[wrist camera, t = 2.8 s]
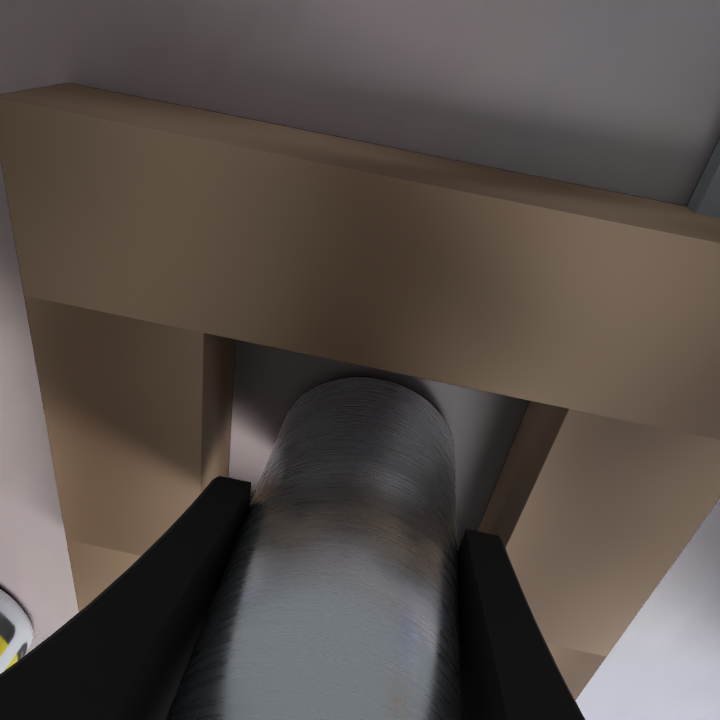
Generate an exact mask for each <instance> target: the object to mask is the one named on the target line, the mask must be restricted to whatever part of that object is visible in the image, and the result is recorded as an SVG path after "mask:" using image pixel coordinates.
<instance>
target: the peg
mask: <svg viewBox="0 0 720 720" xmlns="http://www.w3.org/2000/svg"><path fill="white" fill-rule="evenodd" d="M165 720H461V684H460V643H459V602H458V561H457V520H456V479H455V448H454V441H453V437H452V434H451V431H450V429H449V427H448V425H447V423H446V421H445V420H444V418H443V417H442V415H441V414H440V413H439V412H438V411H437V409H436V408H435V407H434V406H433V405H432V404H430V403H429V402H428V401H427V400H426V399H424V398H423V397H421V396H420V395H419V394H417V393H415V392H413V391H412V390H410V389H408V388H406V387H403V386H401V385H398V384H396V383H393V382H389V381H385V380H381V379H374V378H362V377H355V378H344V379H338V380H333V381H330V382H327V383H324V384H321V385H319V386H317V387H315V388H313V389H311V390H310V391H308V392H307V393H305V394H304V395H303V396H301V397H300V398H299V399H298V400H297V401H296V402H295V403H294V404H293V406H292V407H291V408H290V410H289V411H288V413H287V415H286V417H285V419H284V422H283V424H282V427H281V429H280V432H279V434H278V437H277V439H276V442H275V445H274V447H273V450H272V452H271V455H270V457H269V460H268V462H267V465H266V467H265V470H264V472H263V475H262V477H261V480H260V482H259V485H258V487H257V490H256V492H255V495H254V497H253V500H252V502H251V505H250V508H249V510H248V513H247V515H246V518H245V520H244V523H243V525H242V528H241V530H240V533H239V535H238V538H237V540H236V543H235V545H234V548H233V550H232V553H231V555H230V558H229V560H228V563H227V565H226V568H225V571H224V573H223V576H222V578H221V581H220V583H219V586H218V588H217V591H216V593H215V596H214V598H213V601H212V603H211V606H210V608H209V611H208V613H207V616H206V618H205V621H204V623H203V626H202V628H201V631H200V634H199V636H198V639H197V641H196V644H195V646H194V649H193V651H192V654H191V656H190V659H189V661H188V664H187V666H186V669H185V671H184V674H183V676H182V679H181V681H180V684H179V686H178V689H177V692H176V694H175V697H174V699H173V702H172V704H171V707H170V709H169V712H168V714H167V717H166V719H165Z"/></svg>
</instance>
